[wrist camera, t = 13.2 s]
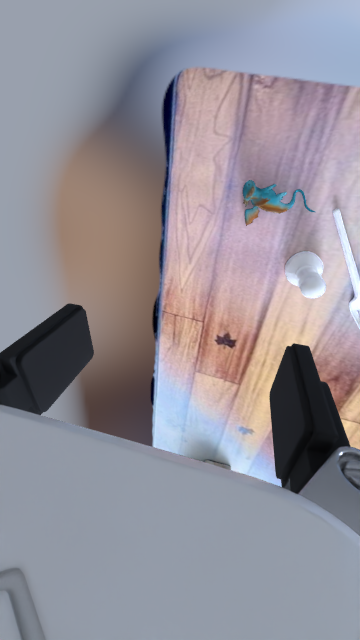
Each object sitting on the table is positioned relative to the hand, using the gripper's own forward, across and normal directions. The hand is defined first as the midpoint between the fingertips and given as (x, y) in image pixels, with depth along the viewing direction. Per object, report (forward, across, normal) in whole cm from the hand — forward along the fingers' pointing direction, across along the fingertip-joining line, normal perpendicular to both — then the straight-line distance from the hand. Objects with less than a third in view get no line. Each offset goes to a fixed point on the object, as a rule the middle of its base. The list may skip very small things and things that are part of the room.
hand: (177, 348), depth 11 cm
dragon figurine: (+31, -5, -4) cm, 31 cm away
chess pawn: (+31, -12, +5) cm, 33 cm away
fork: (+31, -19, +5) cm, 36 cm away
